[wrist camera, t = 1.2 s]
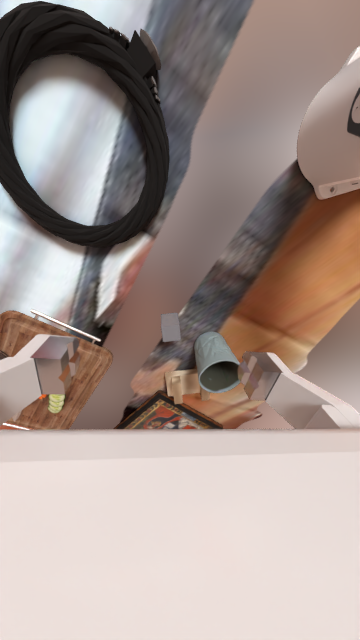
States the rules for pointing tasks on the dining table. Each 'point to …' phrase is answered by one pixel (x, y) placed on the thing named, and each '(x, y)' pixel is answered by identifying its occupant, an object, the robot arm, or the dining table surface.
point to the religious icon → (166, 416)
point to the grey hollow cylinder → (215, 363)
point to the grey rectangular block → (170, 327)
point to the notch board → (184, 385)
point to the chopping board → (62, 409)
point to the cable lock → (129, 74)
